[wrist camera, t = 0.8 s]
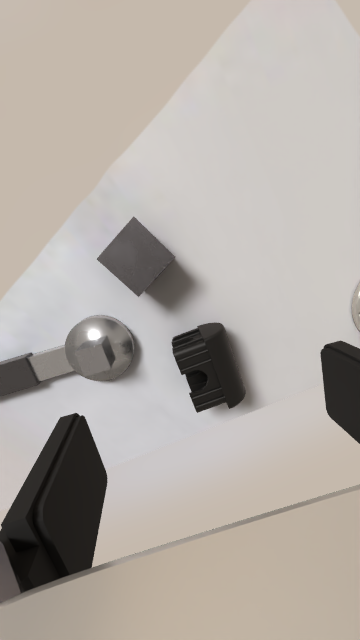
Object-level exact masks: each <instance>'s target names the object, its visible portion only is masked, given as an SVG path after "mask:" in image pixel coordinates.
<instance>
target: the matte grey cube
mask: <svg viewBox="0 0 360 640" xmlns="http://www.w3.org/2000/svg"><path fill="white" fill-rule="evenodd" d="M174 258H175V256H174V255H173V254H172V253H171V252H169V251H168V250H167V249H166V248H165V247H164V246H163V245H162V244H161V243H160V242H159V241H158V240H157V239H156V238H155V237H154V236H153V235H152V234H151V233H150V232H149V231H148V230H147V229H146V228H145V227H144V226H143V225H142V224H141V223H140V222H139V221H138V220H137V219H136V218H135V217H133V218H132V219H131V220H130V221H129V223H128V224H127V225H126V226H125V227H124V228H123V229H122V231H121V232H120V233H119V234H118V235H117V236H116V237H115V239H114V240H113V241H112V242H111V243H110V244H109V245H108V247H107V248H106V249H105V250H104V251H103V252H102V253H101V255H100V256H99V257H98V258H97V260H98V261H99V262H100V263H101V264H103V265H104V266H105V267H106V268H107V269H108V270H109V271H110V272H112V273H113V274H114V275H115V276H116V277H117V278H118V279H119V280H120V281H122V282H123V283H124V284H125V285H126V286H127V287H128V288H129V289H130V290H132V291H133V292H134V293H135V294H136V295H137V296H138V297H139V296H140V295H141V294H142V293H143V292H144V291H145V290H146V288H147V287H148V286H149V285H150V284H151V283H152V282H153V281H154V280H155V279H156V278H157V277H158V275H159V274H160V273H161V272H162V271H163V270H164V269H165V268H166V267H167V266H168V265H169V264H170V262H171V261H172V260H173V259H174Z"/></svg>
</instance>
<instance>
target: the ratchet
mask: <svg viewBox="0 0 360 640" xmlns="http://www.w3.org/2000/svg"><path fill="white" fill-rule="evenodd" d="M133 354H134V340H133V337H132V335H131V333H130V331H129V330H128V328H127V327H126V326H125V325H124V324H123V323H122V322H120V321H119V320H117V319H115V318H112V317H109V316H104V315H97V316H91V317H88V318H86V319H84V320H82V321H81V322H79V323H78V324H77V325H76V326H75V327H74V328H73V329H72V330H71V331H70V332H69V334H68V336H67V339H66V342H65V345H62V346H59V347H55V348H52V349H49V350H45V351H42V352H39V353H35V354H32V353H28V354H25V355H21V356H18V357H15V358H12V359H8V360H5V361H2V362H0V396H3V395H6V394H10V393H13V392H16V391H20V390H23V389H26V388H29V387H33V386H36V385H38V384H39V383H40V382H41V381H42V380H46V379H49V378H52V377H56V376H59V375H62V374H65V373H69V372H72V371H76V372H77V373H78V374H80V375H81V376H83V377H85V378H87V379H90V380H94V381H107V380H111V379H114V378H116V377H118V376H120V375H121V374H122V373H123V372H125V371H126V369H127V368H128V367H129V365H130V363H131V361H132V357H133Z"/></svg>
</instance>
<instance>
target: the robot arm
mask: <svg viewBox="0 0 360 640" xmlns="http://www.w3.org/2000/svg"><path fill="white" fill-rule="evenodd" d="M352 315H353V319H354V322H355V324H356V326H357V328H358V330H359V331H360V283H359V285H358V287H357V289H356V291H355V294H354V297H353V302H352ZM321 362H322V372H323V382H324V392H325V401H326V410H327V413H328V415H329V416H330V417H331V418H332V419H333V420H334V421H335V422H336V423H337V424H338V425H339V426H341V427H342V428H343V429H344V430H345V431H346V432H347V433H348V434H349V435H350V436H352V437H353V438H354V439H355V440H356V441H357V442H358V443H359V444H360V349H359V348H357V347H354V346H352V345H350V344H348V343H345V342H343V341H337V342H334V343H330V344H326V345H325V346H324V349H322V350H321ZM106 487H107V474H106V470H105V468H104V465H103V463H102V460H101V457H100V455H99V452H98V450H97V447H96V445H95V442H94V439H93V437H92V434H91V432H90V429H89V426H88V424H87V421H86V419H85V417H84V416H83V415H82V416H80V415H79V414H78V413H75V414H71V415H67V416H64V417H61V418H60V419H59V421H58V423H57V424H56V426H55V428H54V430H53V432H52V433H51V435H50V437H49V439H48V441H47V442H46V444H45V446H44V448H43V450H42V451H41V453H40V455H39V457H38V459H37V461H36V462H35V464H34V466H33V468H32V470H31V471H30V473H29V475H28V477H27V479H26V480H25V482H24V484H23V486H22V488H21V490H20V491H19V493H18V495H17V497H16V499H15V500H14V502H13V504H12V506H11V508H10V510H9V511H8V513H7V515H6V517H5V519H4V520H3V522H2V524H1V526H2V529H1V531H0V640H360V485H357V486H353V487H350V488H347V489H343V490H340V491H336V492H333V493H330V494H326V495H323V496H320V497H317V498H314V499H310V500H307V501H304V502H300V503H297V504H294V505H290V506H287V507H284V508H281V509H278V510H274V511H271V512H267V513H264V514H261V515H258V516H255V517H251V518H248V519H245V520H241V521H238V522H235V523H232V524H228V525H225V526H222V527H219V528H216V529H212V530H209V531H206V532H203V533H200V534H196V535H193V536H190V537H187V538H184V539H180V540H177V541H174V542H171V543H167V544H164V545H161V546H158V547H155V548H152V549H148V550H145V551H142V552H139V553H135V554H133V555H129V556H126V557H123V558H120V559H117V560H114V561H111V562H108V563H105V564H102V565H99V566H96V567H93V568H91V567H92V561H93V557H94V551H95V546H96V540H97V535H98V529H99V524H100V519H101V514H102V508H103V503H104V498H105V492H106Z"/></svg>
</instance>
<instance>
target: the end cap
mask: <svg viewBox="0 0 360 640" xmlns="http://www.w3.org/2000/svg"><path fill="white" fill-rule="evenodd" d="M197 327H198V328H197V329H194V330H191V331H188V332H186V333H183V334H180V335H178V336H175V337H174V338H173V339H172V341H173V342H172V346H173V348H172V349H173V354H174V357H175V360H176V362H177V365H178V367H179V370H180V372H181V374H182V375H183V374H185V375H186V379H187V381H188V384H189V386H190V389H191V391H192V392H191V393H189V394H190V397H191V399H192V402H193V404H194V407H195V409H196V412H197V413H198V412H201V411H203V410H206V409H209V408H212V407H214V406H217V405H220V404H222V403H225V402H226V403H227V405H228V407H229V409H230V408H232V407H234V406H236V405H238V404H239V403H240V402H241V401H242V400H243V398H244V397H245V388H244V385H243V382H242V379H241V376H240V373H239V370H238V367H237V364H236V361H235V358H234V355H233V352H232V349H231V346H230V343H229V340H228V337H227V334H226V331H225V328H224V326H223V325H222V324H220V323H208V324H203V325H200V326H197Z"/></svg>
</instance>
